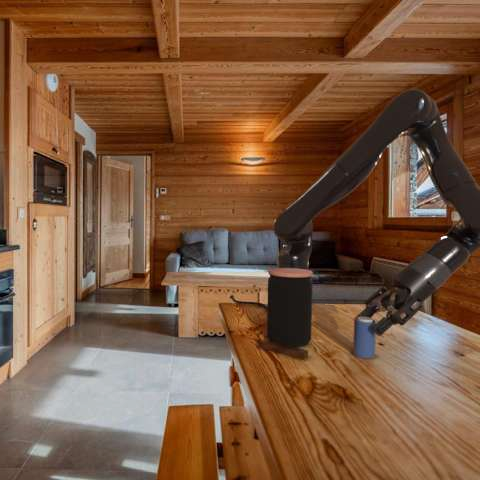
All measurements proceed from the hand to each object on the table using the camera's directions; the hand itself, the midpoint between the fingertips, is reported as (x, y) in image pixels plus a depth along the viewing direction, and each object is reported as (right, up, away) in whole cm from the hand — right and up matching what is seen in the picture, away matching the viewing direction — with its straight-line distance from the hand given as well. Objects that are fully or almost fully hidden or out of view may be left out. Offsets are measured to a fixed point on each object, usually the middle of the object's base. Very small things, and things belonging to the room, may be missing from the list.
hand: (366, 326), depth 88 cm
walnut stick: (-18, -6, +2) cm, 20 cm away
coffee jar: (-14, -6, +10) cm, 19 cm away
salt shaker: (0, -6, 0) cm, 6 cm away
